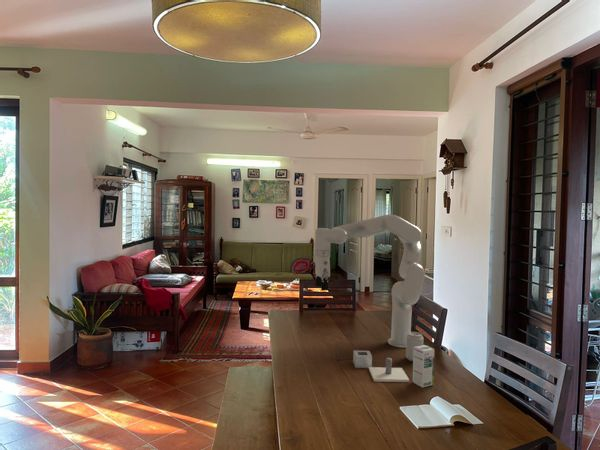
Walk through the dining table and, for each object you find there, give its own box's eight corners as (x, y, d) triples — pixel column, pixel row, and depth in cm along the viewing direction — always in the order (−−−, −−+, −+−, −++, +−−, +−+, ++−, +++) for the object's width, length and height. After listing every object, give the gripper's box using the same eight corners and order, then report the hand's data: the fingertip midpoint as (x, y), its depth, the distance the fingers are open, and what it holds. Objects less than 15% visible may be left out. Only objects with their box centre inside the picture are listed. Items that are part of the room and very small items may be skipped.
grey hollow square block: (368, 361, 185) (369, 350, 184) (371, 368, 178) (372, 356, 177) (353, 361, 185) (353, 350, 184) (355, 367, 178) (355, 356, 177)
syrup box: (422, 388, 159) (424, 350, 159) (411, 382, 165) (413, 346, 164) (433, 385, 162) (435, 348, 161) (422, 379, 167) (424, 344, 167)
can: (423, 358, 191) (424, 332, 191) (421, 363, 184) (422, 337, 184) (407, 355, 194) (408, 330, 194) (404, 360, 188) (405, 334, 187)
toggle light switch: (401, 370, 176) (402, 354, 176) (409, 382, 164) (410, 364, 164) (368, 369, 176) (369, 353, 176) (374, 381, 164) (374, 364, 164)
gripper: (335, 255, 195) (334, 291, 196) (324, 251, 212) (323, 284, 213) (320, 255, 193) (319, 292, 194) (310, 251, 210) (309, 284, 211)
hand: (321, 288), depth 203 cm, fingers open, 9 cm apart
